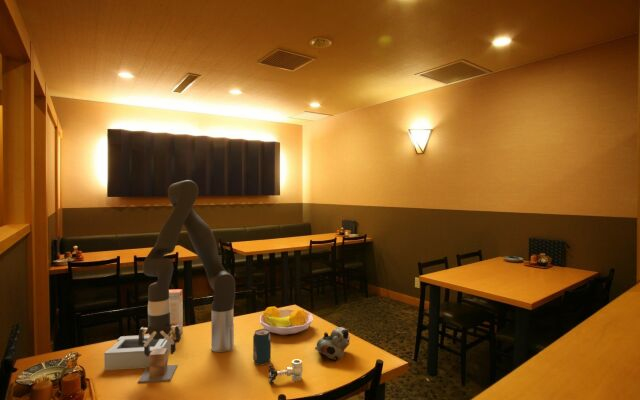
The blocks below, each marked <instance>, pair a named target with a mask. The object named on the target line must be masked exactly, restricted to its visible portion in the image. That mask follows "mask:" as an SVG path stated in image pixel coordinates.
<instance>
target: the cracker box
mask: <svg viewBox="0 0 640 400" xmlns="http://www.w3.org/2000/svg"><path fill="white" fill-rule="evenodd" d="M169 301H170V322H171V326H176V325H177V324H179V325H180V334H181V335H182V333H183V331H184V330H183V329H184V328H183V327H184V325H183V323H184V321H183V320H184V316H183V314H184V313H183V311H184V310H183V309H184V308H183V307H184V306H183V289H179V288H177V289H169ZM170 333H171V334H172V335H173V337H176V334H175V332H174V331H173V330H172V329H171V331H170ZM148 335H150V334H149V333H148Z"/></svg>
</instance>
